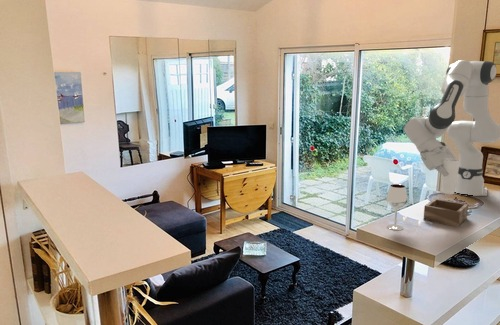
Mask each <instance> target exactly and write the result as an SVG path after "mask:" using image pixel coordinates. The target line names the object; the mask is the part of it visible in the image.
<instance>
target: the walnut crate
mask: <svg viewBox="0 0 500 325" xmlns="http://www.w3.org/2000/svg"><path fill="white" fill-rule="evenodd" d="M468 208H469V204H468V203H461V202H456V201H452V200H451V201H450V200H445V199H441V198H439V199H438V198H433V199H432V200H430V201H429V202H427V204H425V205H424V207H423V210H424V211H423V219H422V220H423V221H427V222H431V223H432V222H433V223H437V224H441V225H447V226H450V227H455V228H459V227H460V226H461V225H462V224H463V223H465V220H467V217H468Z"/></svg>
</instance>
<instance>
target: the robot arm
mask: <svg viewBox="0 0 500 325" xmlns="http://www.w3.org/2000/svg"><path fill="white" fill-rule="evenodd" d="M496 76H497V65H496V64H495V63H494V62H493V61H489V60H486V61H482V60H472V61H471V60H470V61H468V60H463V59H460V60H457V61H455V62H454V63H451V64H450V65H449V66H447V68H446V71H445V77H444V78H443V81H442V85H441V87H440V88H441V89H440V91H441V93H442V94H443V95H442V97H441V99H440V101H439V103H437V104H436V105H435V106H433V107H432V109H431V110H430V113H429V114H428V116H427V117H416V116H414V117H412V118H410V119H408V121H407V122H406V123H405V125H404V127H403V130H404V133H405V135H406V136H407V138H408V140H409V141H410V142H411V143H412V144H414V146H415V147H416V149H417V151H418V152H419V155H420V159H421V161H422V163H423V164H424V166H425V167H426V169H427V170H429V171H434V170H436V171H437V172H438V173H440V175H441V174H442V175H443V176H444V177H445V176H447V175H448V174H449V173H448V172H447V171H445V170H444V169H443V167H442V166H441V165H443V161H442V159H443V160H446V159H444V158H452V159H457V158H456V157H455V155H454V153H453V152H452V150H450V149H449V148H448V147H447V146H448V145H447V144H446V142H443V141H440V140H438V139H439V138H440V137H442V136H444V134H445V133H446V134H447V135H448V137H449V139H450V140H452V142H454V144H455V145H456V148H457V150H458V160H459V170H458V175H457V180H456V186H455V192H456V193H455V194H457V193H461V194H468V195H473V196H472V197H486V196H488V187H486V186H485V183H484V182H485V179H484V177H483V174H484V173H483V172H484V169H483V160H484V155H483V152H482V151H481V150H479V149H478V148H476V147H475V146H474V144H473V143H479V144H481V143H482V144H491V143H493V144H495V143H498V141H500V124H499V123H498V122H496V120H494V118H493V117H492V115H491V113H490V111H489V95H490V94H489V93H490V89H489V88H490V87H489V84H490V83H492V82H493V81H494V80H495V79H496ZM462 97H463V103H462V104H463V105H462V109H463V111H464V113H466V114H467V115H470V116H471V117H472V118H473V120H456V121H455V119H456V105H457V103H458V101H459V99H461V98H462ZM446 161H448V160H446ZM461 194H460V195H461Z"/></svg>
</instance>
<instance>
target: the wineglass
mask: <svg viewBox="0 0 500 325" xmlns="http://www.w3.org/2000/svg"><path fill="white" fill-rule="evenodd" d="M385 199H386V202H387V204H388V205H389V206H390V207H391V208H392V209H393V210H394V222H393V223H392V224H391V223H390V224H388V225H386V228H388V229H389V230H391V231H392V230H393V231H401V230H403V229H404V227H403V225H400V224H397V220H398V219H397V217H398V216H397V215H398V211H399V210H400V209H402V208H404V206H406V205H407V203H408V199H409V198H408V193H407V188H406V185H404V184H398V183H397V184H396V183H392V184H390V186H389V189H388V192H387V194H386V198H385Z"/></svg>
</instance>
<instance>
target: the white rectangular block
mask: <svg viewBox="0 0 500 325" xmlns="http://www.w3.org/2000/svg"><path fill="white" fill-rule="evenodd" d="M444 159H446V160H448V161H446V160H443V159H442V161H443V165H441V166H442V167H443V169H444V170H445V171H447V172H448V173H449V174H448V175H447V176H445V177H444V176H443V175H442V174H441V173H440V182H441V183H440V193H441V194H443V195H447V196H449V195H454V194H455V193H454V192H455V186H456V180H457V175H458V170H459V158H458V159H457V158H456V159H452V158H444Z"/></svg>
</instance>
